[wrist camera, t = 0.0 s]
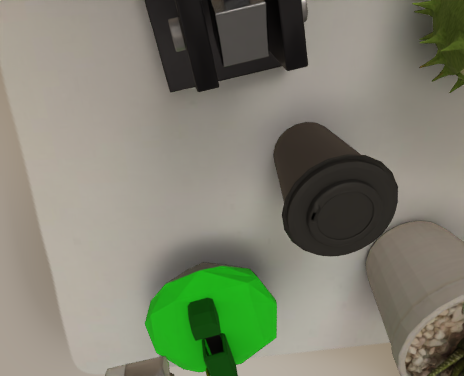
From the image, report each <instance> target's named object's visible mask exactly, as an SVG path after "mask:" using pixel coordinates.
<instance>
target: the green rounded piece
mask: <svg viewBox="0 0 464 376" xmlns="http://www.w3.org/2000/svg"><path fill="white" fill-rule="evenodd" d="M145 326H146V328H147V331H148V333H149V336H150V338H151V341H152V343H153V346H154V348H155V351H156V353H157V354H159V355H161V356H166V358H167V360H169V361H171V362H172V363H174V364H176V365H177V366H179V367H181V368H183V369H186V370H190V371H195V372H204V371H206V374H207V376H238V375H237V369H236V365H237V364H241V363H243V362H244V361H245V360H247V359H248V358H250V357H251V356H252V355H254V354H255V353H256V352H258V351H259V350H260V349H262V348H263V347H264V346H266V345H267V344H268V343H270V342H271V341H273V340H274V339H275V338H276V331H277V303H276V300H275V298H274V297H273V296H272V295H271V293H270V292H269V291H268V290H267V288H266V287H265V286H264V285H263V283H262V282H261V281H260V280H259V278H258V277H257V276H256V275H255V274H254V273H253V272H252V271H251V270H250V269H248V268H242V267H235V266H229V265H222V264H213V263H204V262H203V263H201V264H199V265H196V266H194V267H192V268H190V269H188V270H186V271H185V272H183V273H182V274H180V275H179V276H177V277H176V278H174V279H172V280H171V281H169V282H168V283H166V284H165V285H164V286H163V287H162V289H161V290H160V291H159V292H158V293H157V294H156V296H155V297H154V298H153V299H152V300H151V302H150V306H149V310H148V314H147V317H146V321H145Z"/></svg>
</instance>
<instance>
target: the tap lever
mask: <svg viewBox="0 0 464 376" xmlns="http://www.w3.org/2000/svg"><path fill="white" fill-rule="evenodd" d="M207 1H208V6H209V12H210V17H211V23H212V28H213V34H214V38H215V41H216V45H217V48H218V51H219V55H220V58H221V61H222V65H223V66H224V67H226V66H231V65H235V64H239V63H243V62H248V61H252V60H256V59H260V58H264V57H268V56H269V36H268V17H267V3H266V0H207Z"/></svg>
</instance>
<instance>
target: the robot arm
mask: <svg viewBox="0 0 464 376" xmlns="http://www.w3.org/2000/svg"><path fill="white" fill-rule="evenodd" d="M463 314H464V302H463ZM105 376H174V374H172V373H170V372H169V362H168V360H167V358H166V356H162V357H157V358H152V359H148V360H143V361H139V362H134V363H130V364H125V365H121V366H117V367H113V368H108V369H107V372H106V374H105Z"/></svg>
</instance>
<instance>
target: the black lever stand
mask: <svg viewBox="0 0 464 376" xmlns="http://www.w3.org/2000/svg"><path fill="white" fill-rule="evenodd" d="M266 3H267V17H268V36H269V56H268V57H264V58H260V59H256V60H252V61H248V62H243V63H239V64H235V65H231V66H226V67H224V66H223V65H222V61H221V58H220V55H219V51H218V48H217V45H216V41H215V38H214V34H213V28H212V23H211V17H210V12H209V6H208V1H207V0H145V4H146V7H147V11H148V14H149V18H150V22H151V25H152V29H153V32H154V36H155V39H156V43H157V47H158V50H159V54H160V57H161V61H162V64H163V68H164V72H165V75H166V79H167V82H168V86H169V89H170V92H175V91H179V90H184V89H188V88H192V87H196V89H197V91H198V92H202V91H206V90H210V89H214V88H218V87H219V82H218V81H222V80H226V79H230V78H234V77H239V76H243V75H247V74H251V73H255V72H260V71H264V70H268V69H272V68H277V67H281V66H283V67H284V68H285V69H286V70H287V71H290V70H294V69H298V68H303V67H306V66H308V59H307V49H306V39H305V29H304V22H305V21H306V20H307V15H308V10H307V2H306V0H266Z"/></svg>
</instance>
